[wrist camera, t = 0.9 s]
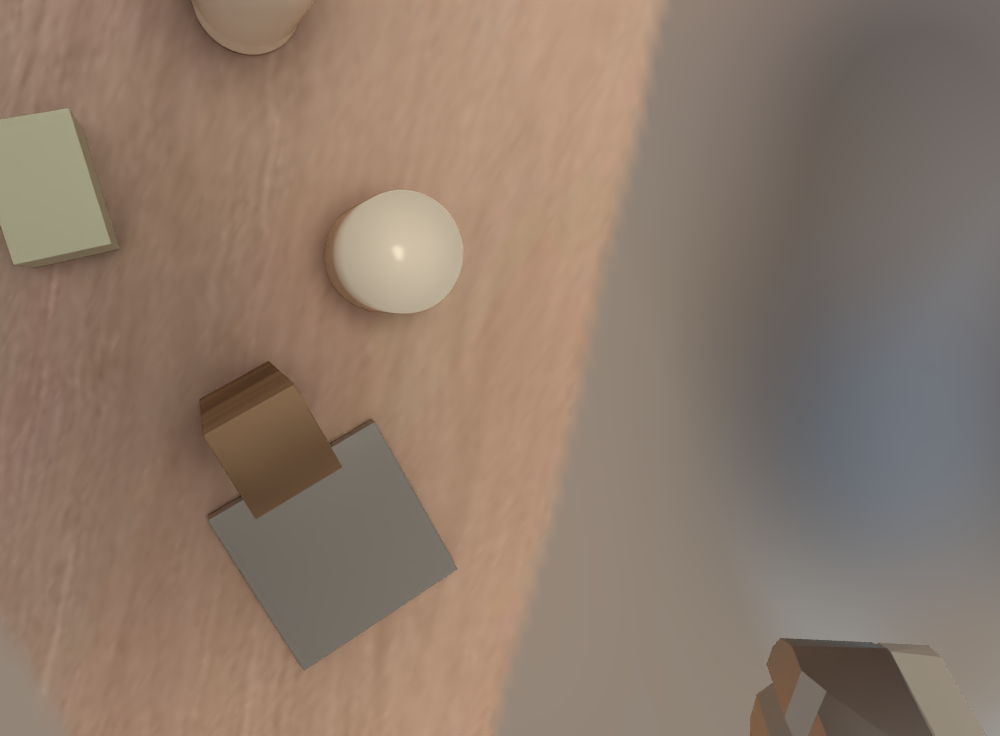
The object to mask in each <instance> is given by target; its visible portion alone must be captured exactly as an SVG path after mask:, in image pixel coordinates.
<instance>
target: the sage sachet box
mask: <svg viewBox="0 0 1000 736" xmlns="http://www.w3.org/2000/svg"><path fill="white" fill-rule="evenodd" d="M0 225H1V228H2V231H3V234H4V237H5V240H6V243H7V246H8V249H9V252H10V255H11V258H12V261H13V264H14V265H18V266H24V267H31V268H35V267H40V266H45V265H49V264H54V263H58V262H63V261H67V260H72V259H77V258H81V257H86V256H90V255H95V254H99V253H104V252H109V251H113V250H118V249H120V248H119V245H118V242H117V239H116V236H115V232H114V229H113V226H112V223H111V219H110V216H109V213H108V210H107V207H106V203H105V200H104V197H103V194H102V190H101V187H100V184H99V181H98V178H97V174H96V171H95V168H94V165H93V162H92V158H91V155H90V152H89V149H88V145H87V142H86V139H85V136H84V133H83V129H82V127H81V126H80V124H79V123H78V121H77V120H76V118H75V117H74V115H73V114H72V112H71V111H70V109H69V108H66V109H60V110H54V111H48V112H42V113H36V114H30V115H24V116H18V117H12V118H6V119H0Z"/></svg>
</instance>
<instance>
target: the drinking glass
mask: <svg viewBox="0 0 1000 736" xmlns="http://www.w3.org/2000/svg"><path fill="white" fill-rule="evenodd" d="M315 1H316V0H192V4H193V8H194V11H195V14H196V16H197V18H198V20H199V22H200V24H201V25H202V27H203V28H204V30H205V31H206V32H207V33H208V34H209V35H210V36H211V37H212V38H213V39H214V40H215V41H216V42H218V43H219V44H220V45H222V46H224V47H225V48H227V49H230V50H232V51H235V52H238V53H242V54H248V55H258V54H264V53H268V52H271V51H274V50H276V49H278V48H279V47H281V46H282V45H283V44H285V43H286V42H287V41H288V40H289V39H290V37H291V36H292V35H293V33H294V32H295V30H296V28H297V26H298V24H299V22H300V20H301V19H302V18H303V17H304V15H305V14H306V13H307V11H308V10H309V9H310V8H311V6H312V5H313V4H314V3H315Z"/></svg>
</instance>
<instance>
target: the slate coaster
mask: <svg viewBox="0 0 1000 736" xmlns="http://www.w3.org/2000/svg"><path fill="white" fill-rule="evenodd" d="M330 446H331V448H332V450H333V451H334V453H335V455H336V456H337V458H338V460H339V462H340V463H341V465H342V468H341V469H339V470H337V471H336V472H334V473H332V474H331V475H329V476H327V477H326V478H324V479H322V480H321V481H319V482H317V483H316V484H314V485H312V486H311V487H309V488H307V489H306V490H304V491H302V492H301V493H299V494H297V495H296V496H294V497H292V498H291V499H289V500H287V501H286V502H284V503H282V504H281V505H279V506H277V507H276V508H274V509H272V510H271V511H269V512H267V513H266V514H264V515H262V516H261V517H259V518H257V519H255V518H254V516H253V515H252V513H251V511H250V510H249V508H248V507H247V505H246V503H245V502H244V500H243V499H242V497H241V496H240V497H239V498H237V499H235V500H234V501H232V502H230V503H229V504H227V505H225V506H224V507H222V508H220V509H218V510H217V511H215V512H213V513H212V514H210V515H208V516H207V517H208V522H209V523H210V525H211V527H212V528H213V530H214V531H215V533H216V534H217V536H218V537H219V539H220V541H221V542H222V544H223V545H224V547H225V548H226V550H227V552H228V553H229V555H230V556H231V558H232V559H233V561H234V562H235V564H236V566H237V567H238V569H239V570H240V572H241V573H242V575H243V577H244V578H245V580H246V581H247V583H248V584H249V586H250V587H251V589H252V591H253V592H254V594H255V595H256V597H257V598H258V600H259V602H260V603H261V605H262V606H263V608H264V609H265V611H266V612H267V614H268V616H269V617H270V619H271V620H272V622H273V623H274V625H275V627H276V628H277V630H278V631H279V633H280V634H281V636H282V637H283V639H284V641H285V642H286V644H287V645H288V647H289V648H290V650H291V651H292V653H293V655H294V656H295V658H296V659H297V661H298V662H299V664H300V666H301V667H302V669H303V670H306V669H307V668H309V667H310V666H312V665H313V664H315V663H316V662H318V661H319V660H321V659H322V658H324V657H325V656H327V655H328V654H330V653H331V652H333V651H334V650H336V649H337V648H339V647H340V646H342V645H343V644H345V643H347V642H348V641H350V640H351V639H353V638H354V637H356V636H357V635H359V634H360V633H362V632H363V631H365V630H366V629H368V628H369V627H371V626H372V625H374V624H375V623H377V622H378V621H380V620H381V619H383V618H384V617H386V616H387V615H389V614H390V613H392V612H393V611H395V610H396V609H398V608H399V607H401V606H402V605H404V604H405V603H407V602H408V601H410V600H411V599H413V598H414V597H416V596H417V595H419V594H420V593H422V592H423V591H425V590H426V589H428V588H430V587H431V586H433V585H434V584H436V583H437V582H439V581H440V580H442V579H443V578H445V577H446V576H448V575H449V574H451V573H452V572H454V571H455V570H457V567H456V565H455V563H454V562H453V560H452V558H451V556H450V554H449V553H448V551H447V549H446V547H445V546H444V544H443V542H442V540H441V538H440V537H439V535H438V533H437V531H436V530H435V528H434V526H433V524H432V523H431V521H430V519H429V517H428V515H427V514H426V512H425V510H424V508H423V507H422V505H421V503H420V501H419V499H418V498H417V496H416V494H415V492H414V491H413V489H412V487H411V485H410V484H409V482H408V480H407V478H406V476H405V475H404V473H403V471H402V469H401V468H400V466H399V464H398V462H397V460H396V459H395V457H394V455H393V453H392V452H391V450H390V448H389V446H388V444H387V443H386V441H385V439H384V437H383V436H382V434H381V432H380V430H379V429H378V427H377V425H376V423H375V422H374V421H373V420H369V421H368V422H366V423H364V424H362V425H361V426H359V427H357V428H356V429H354V430H352V431H351V432H349V433H347V434H345V435H344V436H342V437H340V438H339V439H337V440H335V441H334V442H332V443H330Z"/></svg>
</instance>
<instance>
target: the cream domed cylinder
mask: <svg viewBox="0 0 1000 736" xmlns="http://www.w3.org/2000/svg"><path fill="white" fill-rule="evenodd" d="M324 259H325V266H326V270H327V273H328V276H329V279H330V280H331V282H332V284H333V286H334V287H335V289H336V290H337V291H338V292H339V293H340V294H341V295H342V297H344V298H345V299H346V300H347V301H349V302H350V303H352V304H354V305H356V306H358V307H360V308H363V309H367V310H372V311H380V312H390V313H402V314H408V313H416V312H420V311H423V310H426V309H428V308H431V307H432V306H434V305H436V304H437V303H439V302H440V301H441V300H443V299H444V298H445V297H446V296H447V295H448V293H449V292H450V291H451V290H452V288H453V287H454V285H455V283H456V282H457V279H458V277H459V275H460V271H461V268H462V262H463V243H462V239H461V235H460V232H459V229H458V227H457V225H456V223H455V221H454V219H453V218H452V216H451V215H450V213H449V212H448V211H447V210H446V209H445V208H444V207H443V206H442V205H441V204H440V203H439V202H437V201H436V200H434V199H433V198H431V197H429V196H427V195H425V194H422V193H419V192H416V191H411V190H392V191H387V192H384V193H381V194H378V195H376V196H374V197H372V198H371V199H369V200H367V201H365V202H363V203H361V204H359V205H357V206H355V207H353V208H351V209H349V210H348V211H347V212H345V213H344V214H343V215H342V216H341V217H339V218H338V220H337V221H336V222H335V223H334V225H333V227H332V228H331V230H330V232H329V234H328V237H327V240H326V244H325V251H324Z"/></svg>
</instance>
